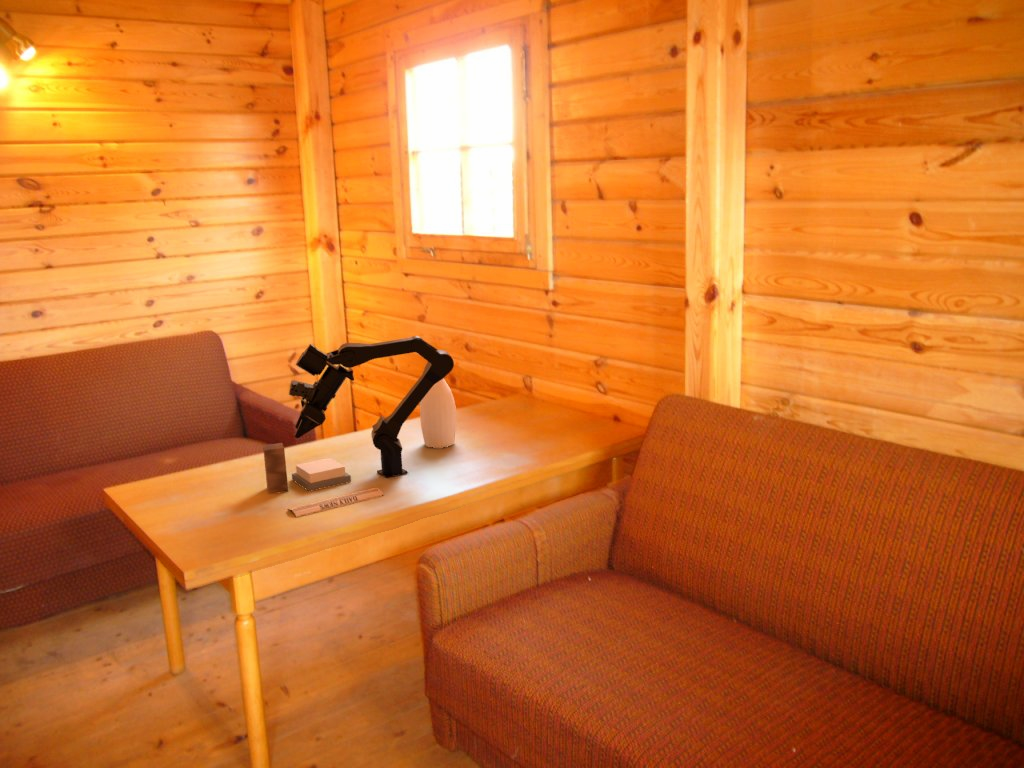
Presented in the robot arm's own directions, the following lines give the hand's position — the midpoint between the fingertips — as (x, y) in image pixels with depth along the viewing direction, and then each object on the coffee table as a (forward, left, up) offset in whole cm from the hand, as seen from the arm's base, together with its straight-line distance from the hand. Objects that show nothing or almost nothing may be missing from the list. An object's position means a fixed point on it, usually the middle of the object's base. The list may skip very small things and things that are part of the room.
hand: (296, 432), depth 238 cm
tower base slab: (-2, -5, -15) cm, 16 cm away
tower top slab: (-2, -5, -12) cm, 13 cm away
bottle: (+6, -47, -14) cm, 49 cm away
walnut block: (-1, +7, -14) cm, 16 cm away
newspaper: (-22, -1, -15) cm, 26 cm away
